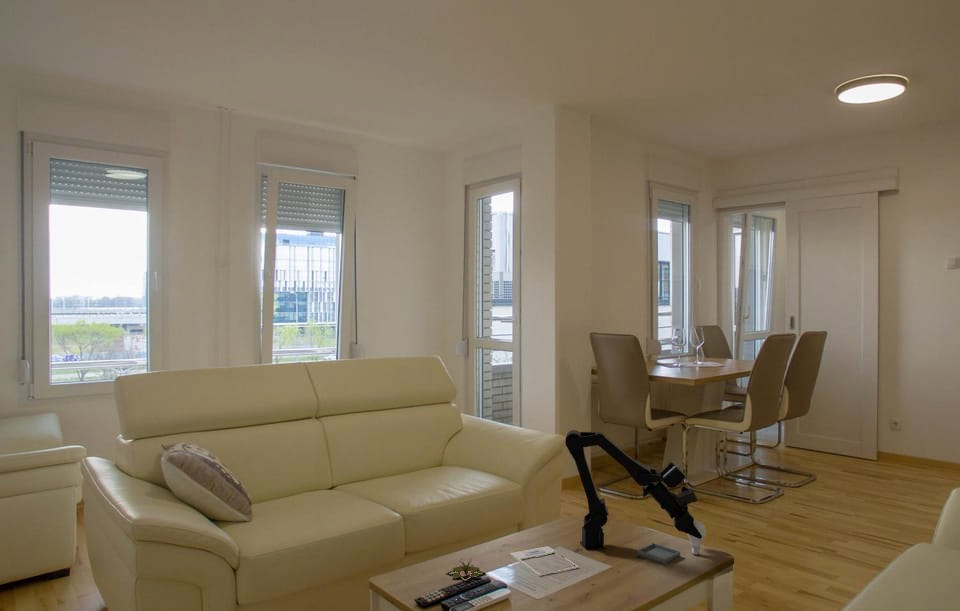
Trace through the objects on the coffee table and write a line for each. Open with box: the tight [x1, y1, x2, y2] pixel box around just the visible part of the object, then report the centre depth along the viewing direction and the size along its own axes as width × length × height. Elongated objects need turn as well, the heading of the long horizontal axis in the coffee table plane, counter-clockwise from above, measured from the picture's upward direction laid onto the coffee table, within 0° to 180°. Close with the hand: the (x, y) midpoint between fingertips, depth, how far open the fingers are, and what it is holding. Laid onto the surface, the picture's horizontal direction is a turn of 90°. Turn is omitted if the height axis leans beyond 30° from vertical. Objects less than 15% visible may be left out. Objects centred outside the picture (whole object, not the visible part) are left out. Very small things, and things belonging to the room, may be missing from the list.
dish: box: [636, 542, 681, 567], centre depth 199 cm, size 10×10×2 cm
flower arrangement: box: [447, 558, 486, 581], centre depth 184 cm, size 12×12×5 cm
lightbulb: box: [685, 519, 707, 556], centre depth 202 cm, size 6×6×11 cm
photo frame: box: [509, 546, 580, 575], centre depth 195 cm, size 15×1×18 cm
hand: (698, 532), depth 202 cm, fingers open, 9 cm apart
